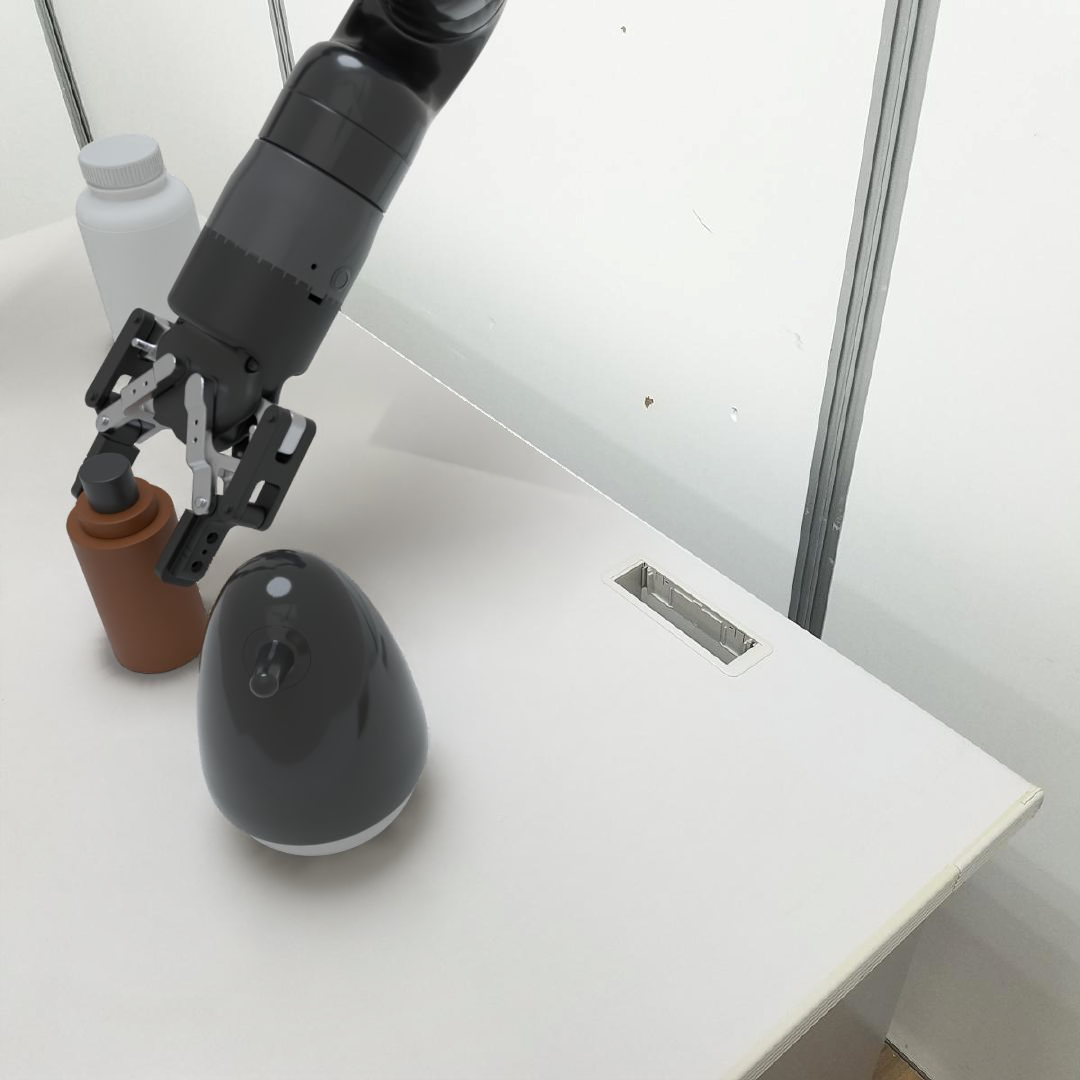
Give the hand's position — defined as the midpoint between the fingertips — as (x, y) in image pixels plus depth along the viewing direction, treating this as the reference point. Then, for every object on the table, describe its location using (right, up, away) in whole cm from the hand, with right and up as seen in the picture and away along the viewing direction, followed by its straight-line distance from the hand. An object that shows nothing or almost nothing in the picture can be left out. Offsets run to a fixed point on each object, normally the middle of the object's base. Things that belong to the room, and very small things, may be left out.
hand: (128, 540), depth 58 cm
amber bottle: (0, -5, +5) cm, 7 cm away
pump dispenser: (+11, -13, -3) cm, 17 cm away
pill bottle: (-7, +15, +28) cm, 32 cm away
